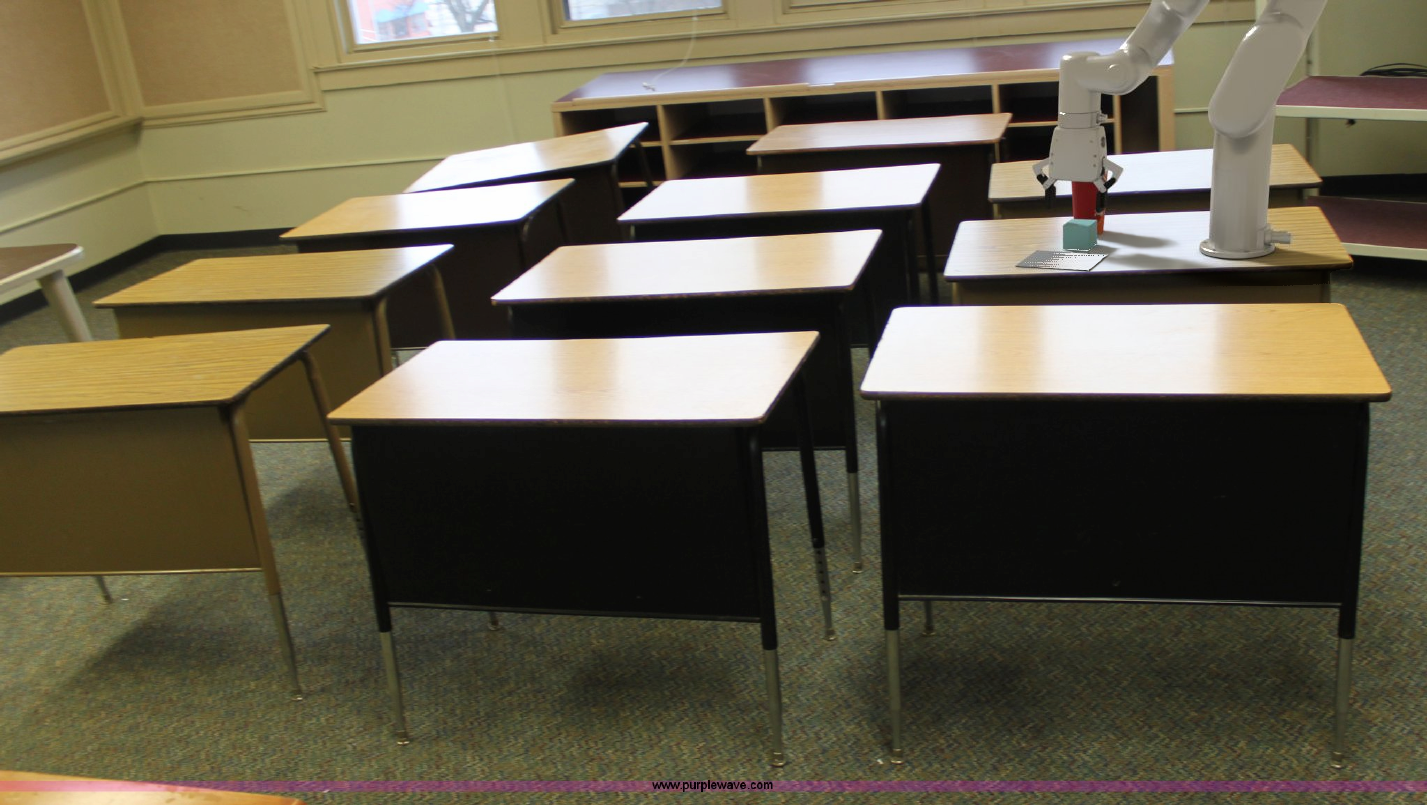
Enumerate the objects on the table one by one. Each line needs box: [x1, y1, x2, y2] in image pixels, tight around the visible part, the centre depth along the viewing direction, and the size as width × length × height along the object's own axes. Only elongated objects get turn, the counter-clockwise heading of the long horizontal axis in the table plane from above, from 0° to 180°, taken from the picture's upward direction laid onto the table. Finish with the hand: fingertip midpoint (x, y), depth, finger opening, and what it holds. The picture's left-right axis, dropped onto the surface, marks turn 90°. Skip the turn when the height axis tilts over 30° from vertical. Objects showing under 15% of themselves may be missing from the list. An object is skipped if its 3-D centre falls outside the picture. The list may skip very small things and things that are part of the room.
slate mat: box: [1015, 249, 1104, 268], centre depth 215 cm, size 14×11×1 cm
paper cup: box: [1070, 169, 1110, 236], centre depth 229 cm, size 8×8×14 cm
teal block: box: [1062, 218, 1098, 251], centre depth 221 cm, size 5×5×5 cm
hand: (1075, 209), depth 220 cm, fingers open, 9 cm apart
